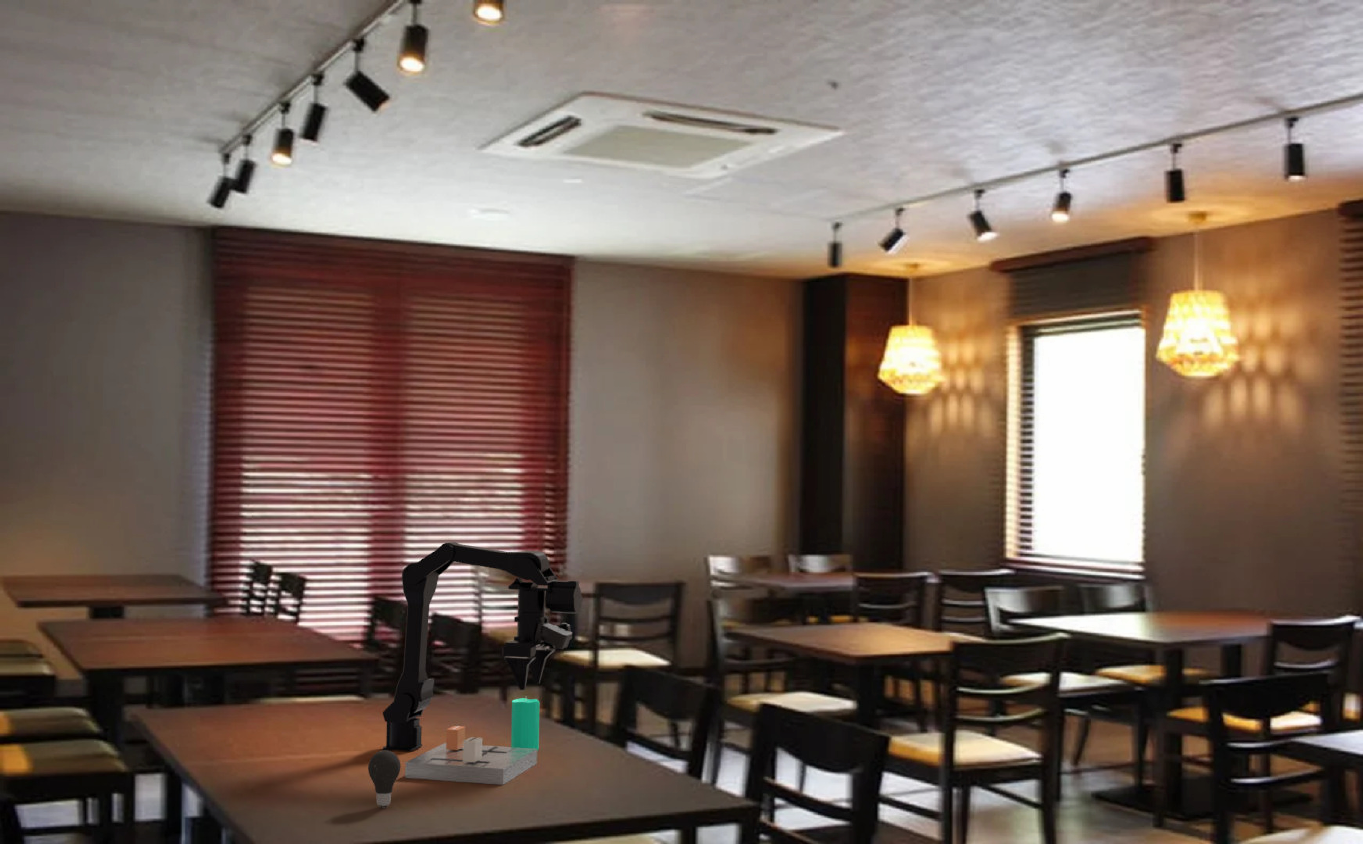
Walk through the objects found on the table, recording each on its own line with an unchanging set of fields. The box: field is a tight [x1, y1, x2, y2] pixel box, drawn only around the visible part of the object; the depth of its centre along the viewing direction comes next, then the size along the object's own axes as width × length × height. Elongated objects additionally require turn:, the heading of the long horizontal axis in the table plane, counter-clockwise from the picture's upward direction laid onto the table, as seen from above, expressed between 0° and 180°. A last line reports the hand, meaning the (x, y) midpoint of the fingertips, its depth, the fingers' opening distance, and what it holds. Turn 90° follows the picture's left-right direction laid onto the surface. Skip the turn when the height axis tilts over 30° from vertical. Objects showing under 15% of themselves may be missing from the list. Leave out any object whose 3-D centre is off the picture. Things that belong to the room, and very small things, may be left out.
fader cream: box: [463, 736, 483, 763], centre depth 275 cm, size 2×4×7 cm, turn 168°
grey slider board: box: [404, 742, 538, 786], centre depth 280 cm, size 20×20×3 cm
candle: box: [510, 697, 540, 752], centre depth 302 cm, size 6×6×12 cm
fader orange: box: [445, 725, 466, 750], centre depth 286 cm, size 2×4×7 cm, turn 167°
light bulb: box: [367, 750, 401, 809], centre depth 249 cm, size 6×6×10 cm
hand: (529, 686), depth 295 cm, fingers open, 9 cm apart
